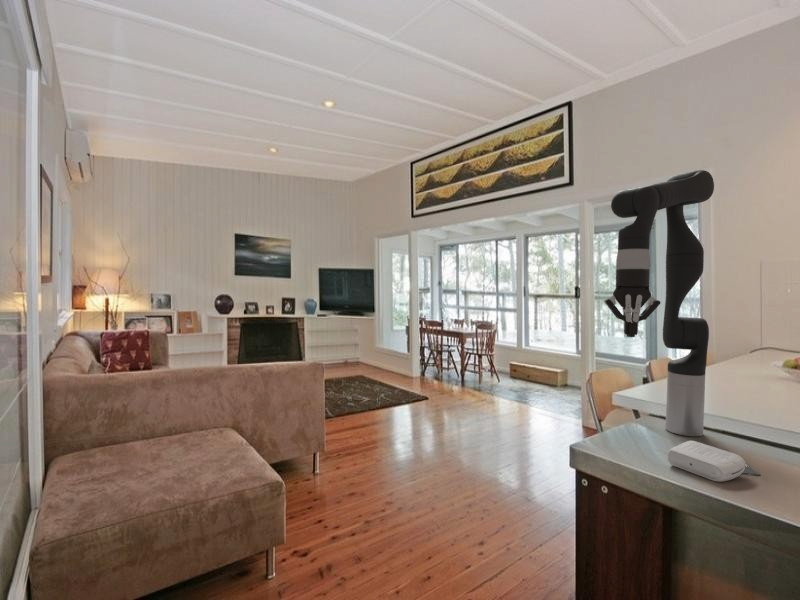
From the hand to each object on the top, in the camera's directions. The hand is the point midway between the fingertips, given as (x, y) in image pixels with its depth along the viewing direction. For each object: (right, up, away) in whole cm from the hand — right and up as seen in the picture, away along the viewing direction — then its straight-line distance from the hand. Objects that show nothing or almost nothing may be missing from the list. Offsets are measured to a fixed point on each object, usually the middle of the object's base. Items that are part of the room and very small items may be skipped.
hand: (630, 336), depth 111 cm
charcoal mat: (+19, -30, -4) cm, 35 cm away
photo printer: (+8, -27, -6) cm, 29 cm away
